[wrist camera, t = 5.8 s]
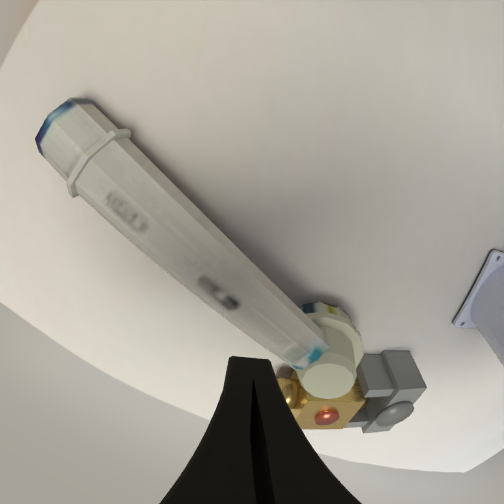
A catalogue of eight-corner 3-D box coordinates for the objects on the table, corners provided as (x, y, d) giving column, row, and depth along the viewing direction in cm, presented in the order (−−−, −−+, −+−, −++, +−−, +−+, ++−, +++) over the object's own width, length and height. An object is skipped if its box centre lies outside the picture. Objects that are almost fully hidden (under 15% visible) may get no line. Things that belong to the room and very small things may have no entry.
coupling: (411, 351, 25) (431, 390, 21) (379, 396, 29) (392, 433, 24) (359, 350, 25) (375, 395, 21) (330, 397, 28) (340, 438, 24)
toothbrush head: (63, 84, 11) (390, 394, 17) (123, 90, 17) (369, 332, 23) (17, 167, 13) (325, 430, 19) (80, 149, 19) (318, 366, 25)
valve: (366, 362, 26) (381, 403, 22) (347, 391, 28) (357, 430, 24) (282, 356, 25) (288, 403, 21) (268, 387, 27) (272, 431, 23)
